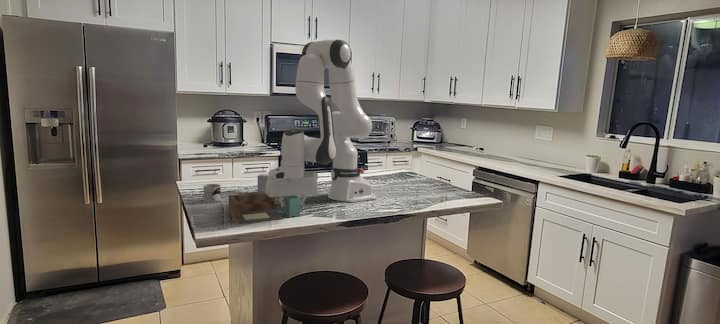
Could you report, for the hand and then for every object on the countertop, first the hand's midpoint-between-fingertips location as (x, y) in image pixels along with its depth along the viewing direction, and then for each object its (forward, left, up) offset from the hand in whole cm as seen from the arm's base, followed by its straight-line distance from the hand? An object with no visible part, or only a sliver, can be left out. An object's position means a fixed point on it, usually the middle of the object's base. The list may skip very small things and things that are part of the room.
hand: (291, 206), depth 162 cm
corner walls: (+14, -2, -3) cm, 14 cm away
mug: (+25, -29, -3) cm, 38 cm away
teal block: (0, 0, -3) cm, 3 cm away
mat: (+13, -1, -3) cm, 13 cm away
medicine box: (+1, -34, -3) cm, 34 cm away
